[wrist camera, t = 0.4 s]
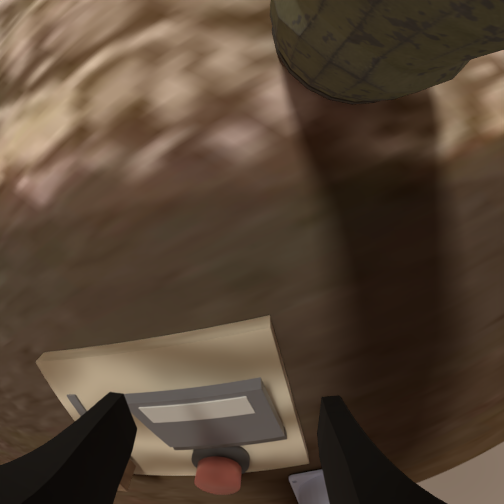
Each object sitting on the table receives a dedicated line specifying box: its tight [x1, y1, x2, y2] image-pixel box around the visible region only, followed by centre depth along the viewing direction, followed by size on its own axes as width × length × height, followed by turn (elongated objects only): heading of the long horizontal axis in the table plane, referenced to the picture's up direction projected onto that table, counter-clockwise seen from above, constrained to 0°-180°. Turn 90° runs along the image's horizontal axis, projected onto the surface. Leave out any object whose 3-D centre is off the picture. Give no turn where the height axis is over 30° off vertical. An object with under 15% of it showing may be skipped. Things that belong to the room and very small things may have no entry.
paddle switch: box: [124, 377, 284, 447], centre depth 19 cm, size 7×9×1 cm
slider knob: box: [118, 459, 136, 491], centre depth 22 cm, size 2×4×3 cm, turn 105°
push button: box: [194, 456, 242, 495], centre depth 21 cm, size 4×4×2 cm
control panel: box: [36, 315, 309, 476], centre depth 22 cm, size 15×20×2 cm
